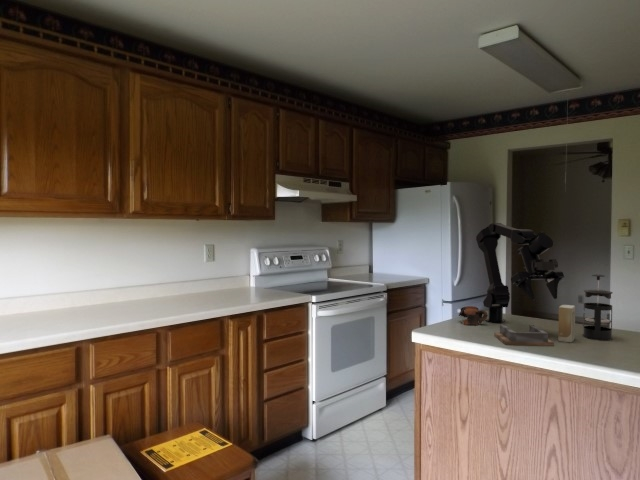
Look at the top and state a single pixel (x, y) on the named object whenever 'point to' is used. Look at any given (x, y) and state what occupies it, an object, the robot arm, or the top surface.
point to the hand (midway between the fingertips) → (544, 299)
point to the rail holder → (524, 337)
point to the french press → (597, 315)
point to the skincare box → (566, 323)
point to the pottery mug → (472, 315)
